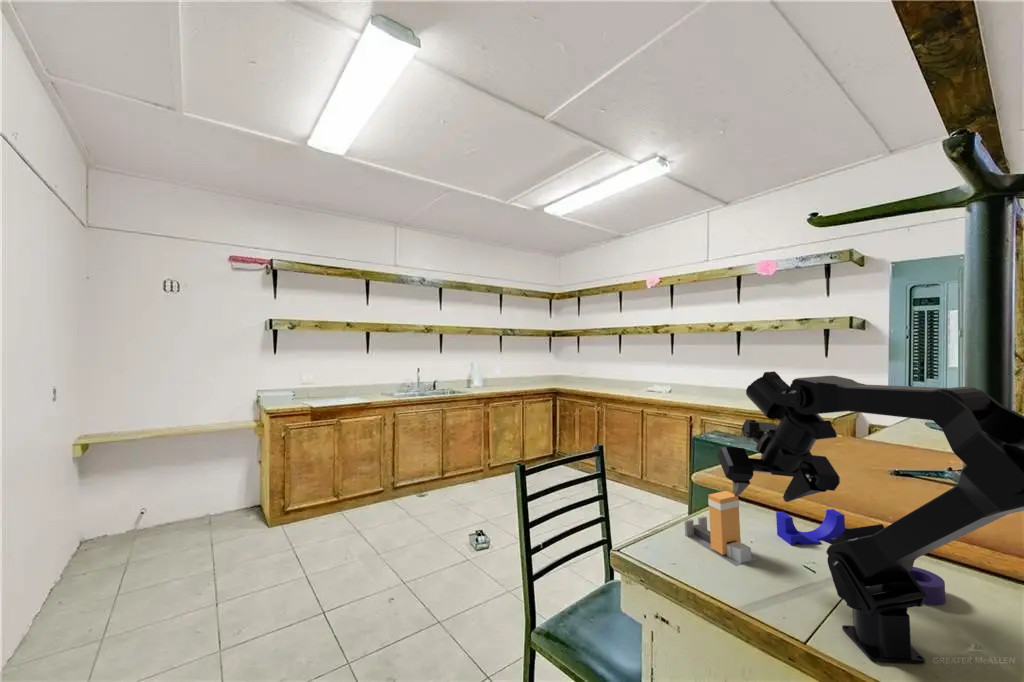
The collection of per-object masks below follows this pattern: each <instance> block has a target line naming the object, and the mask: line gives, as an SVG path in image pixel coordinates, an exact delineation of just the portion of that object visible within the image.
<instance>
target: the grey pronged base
mask: <svg viewBox="0 0 1024 682" xmlns="http://www.w3.org/2000/svg"><path fill="white" fill-rule="evenodd" d="M697 522H698V524H694V519H692V518H691V519H690V518H689V519H686V520H684V536H685V537H687V538H688V539H690V540H692V541H693V542H695V543H697V544H698V545H701V546H702V547H703V548H705V549H706V550H708V551H710V552H712V553H714V554H715V555H717V556H718V557H720V558H722V559H724V560H726V561H727V562H728V563H730V564H732V565H733V566H736V567H739V566H741V565H745V564H748V563H751V562H756V561H758V560H759V558H757V557H755V556H753V555H752V549H751V547H750V546H748V545H746V544H745V543H742V542H741V543H740V542H734V543H731V542H727V544H726V545H727V554H724V555H722V554H720V553H719V552H717V551H715V550H714V549H712V548H711V538H710V537H711V535H710V530H709V529H708V518H707V516H705V515H703V516H699V517H697Z"/></svg>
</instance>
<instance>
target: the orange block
mask: <svg viewBox="0 0 1024 682" xmlns="http://www.w3.org/2000/svg"><path fill="white" fill-rule="evenodd" d="M707 500H708V501H707V503H708V511H709V513H708V514H709V531H710V535H711V537H710V538H711V548H712V549H714V550H715V551H717V552H719V553H720V554H722V555H724V554H727V545H726V544H727V542H731V543H734V542H740V543H742V541H741V540H742V538H741V525H740V524H741V522H740V521H741V520H740V501H739V496H737V497H736V496H734V493H732V492H731V491H727V490H723V491H718V492H714V493H710V494H708V499H707Z"/></svg>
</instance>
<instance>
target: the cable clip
mask: <svg viewBox="0 0 1024 682" xmlns="http://www.w3.org/2000/svg"><path fill="white" fill-rule="evenodd" d="M775 514H776V515H775V516H776V520H775V521H776V535H777V537H779V538H781V539H782V540H783V541H784V542H785V543H787V544H788V545H790V546H795V544H796V543H798V544H800V545H801V546H804V545H805V546H808V545H822V542H825V543H827V544H830V545H832V543H831V542H830V541H829V539H833V538H838V537H839V536H840V535H841V534H842V532H844V531H845V530H846V522H845V520H846V519H845V517H846V516H845V514H843V513H842V512H839V511H837V510H836V509H834V508H831V509H826V510H825V517H824V519H823V521H822V522H821V524H820V525H819V526H818V527H817V528H815V529H813V530H811V531H800V530H798V529H797V527H796V526H795V523H794V519H793V517H792V516H790V515H789V514H787V513H786V512H785V511H776V512H775ZM821 541H822V542H821Z"/></svg>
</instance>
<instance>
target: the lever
mask: <svg viewBox="0 0 1024 682" xmlns="http://www.w3.org/2000/svg"><path fill="white" fill-rule="evenodd" d="M910 573H911V574H912V576H913V577H914V578H915V580H916V581H917V582H918V584H919V585H920V586H921V588H922V589H923V590H924V592H925V593H926V595H927V597H926V600H925V602H924V604H923V605H925V606H936V607H937V606H943V605H944V604H946V603H947V602H946V601H947V600H946V583H945V580H944V579H943V578H942V577H941V576H940V575H938V574H936V573H933V572H932V571H929V570H926V569H923V568H920V567H916V566H913V568H912V570H911V571H910ZM880 585H881V584H880ZM874 586H875V585H874Z"/></svg>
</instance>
